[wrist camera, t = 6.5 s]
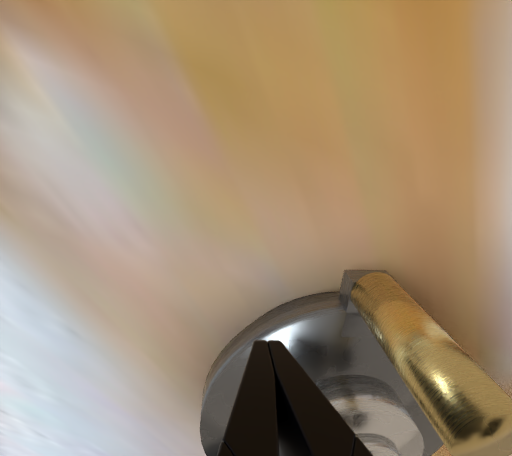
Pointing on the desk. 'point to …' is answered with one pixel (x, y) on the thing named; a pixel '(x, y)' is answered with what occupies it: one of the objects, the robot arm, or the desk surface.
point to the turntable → (374, 364)
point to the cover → (374, 414)
